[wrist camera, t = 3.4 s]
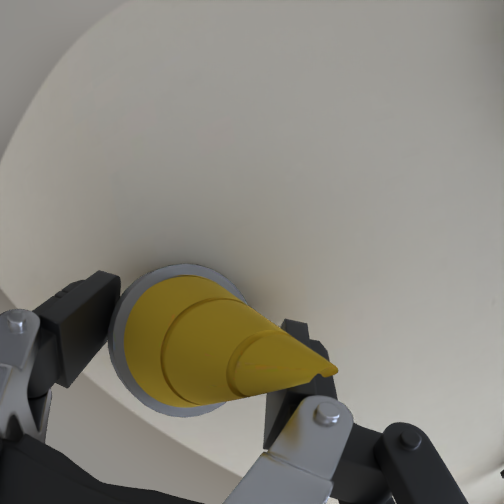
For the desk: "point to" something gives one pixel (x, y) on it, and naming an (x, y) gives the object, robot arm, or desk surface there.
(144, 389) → the yellow stepped cone
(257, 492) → the robot arm
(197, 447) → the desk surface
